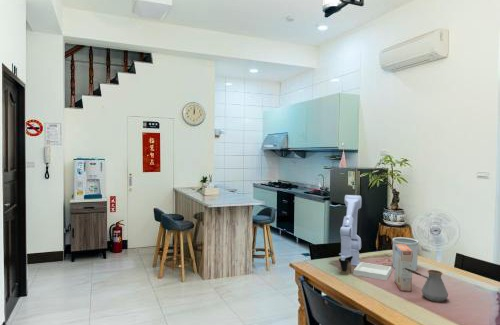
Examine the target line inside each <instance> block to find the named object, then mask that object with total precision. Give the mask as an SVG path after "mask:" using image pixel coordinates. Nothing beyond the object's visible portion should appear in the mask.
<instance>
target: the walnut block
mask: <svg viewBox="0 0 500 325" xmlns="http://www.w3.org/2000/svg"><path fill="white" fill-rule="evenodd" d="M339 268H340V269H339V270H340V272H339V273H340V274H343V273H344V274H345V275H350V274H351V273H352V265H351V262H348V265H347V270H346V272H344V271H342V267H341V264H340V266H339Z"/></svg>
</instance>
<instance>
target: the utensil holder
mask: <svg viewBox="0 0 500 325" xmlns="http://www.w3.org/2000/svg"><path fill="white" fill-rule="evenodd" d="M391 242H392V268H394V269H395V245H396V244H403V245H407V246H408V247H409V248H410V249H411V250H412V251H413V257H412V270H413V271H416V272H417V270H418V254H419V253H418V251H419V244H420V243H419V240H418V239H415V238H411V237H401V236H399V237H398V236H397V237H392V240H391Z"/></svg>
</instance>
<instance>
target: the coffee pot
mask: <svg viewBox="0 0 500 325" xmlns="http://www.w3.org/2000/svg"><path fill="white" fill-rule="evenodd" d="M405 269H406V270H408V271H410V272H412V274H415V275H417V276H420V277H422V278H425V279H426V280H425V282H424V285H423V286H422V289H421V293H422V295H423V296H424V297H425V298H426V299H427V300H430V301H432V302H444V301H445V300H446V299H448V297H449V293H448V290H447V289H446V286H445V284H444V282H443V281H444V280H443V279H442V275H443V271H440V270H437V269H436V270H435V269H428V270H427V274H428V276H426V275H424V274H422V273H419V272H418V271H417V270H416V271H413V270H410V269H407V268H405ZM403 270H404V269H403ZM406 270H405V271H406ZM403 272H404V271H403Z"/></svg>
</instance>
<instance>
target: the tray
mask: <svg viewBox="0 0 500 325" xmlns="http://www.w3.org/2000/svg"><path fill="white" fill-rule="evenodd" d="M392 268H393V266H390V265H382V264H376V263H369V262H361V261H360V263H359V264H358V266H356V267H355V268H354V269H353V276H357V277H364V278H369V279H373V280H374V279H375V280H381V281H388V278H389V277H390V275H391V273H392V270H393V269H392Z"/></svg>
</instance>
